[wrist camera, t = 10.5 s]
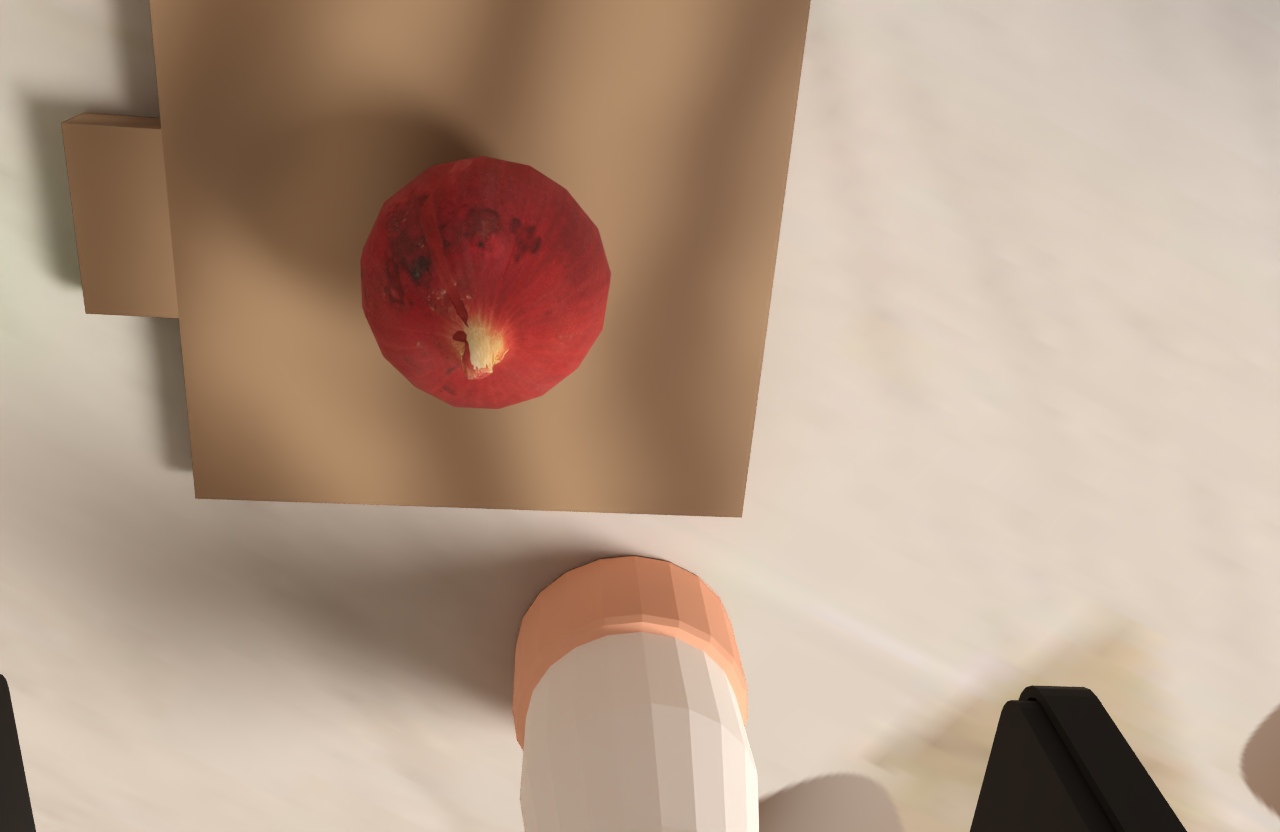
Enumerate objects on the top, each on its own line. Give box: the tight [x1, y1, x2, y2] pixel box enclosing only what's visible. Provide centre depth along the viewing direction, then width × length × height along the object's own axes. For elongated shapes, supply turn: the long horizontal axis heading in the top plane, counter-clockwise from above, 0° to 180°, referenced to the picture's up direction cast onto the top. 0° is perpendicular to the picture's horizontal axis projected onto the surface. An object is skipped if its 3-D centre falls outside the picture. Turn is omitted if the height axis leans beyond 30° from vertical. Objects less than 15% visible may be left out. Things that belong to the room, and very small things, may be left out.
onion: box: [360, 156, 611, 409], centre depth 26 cm, size 6×6×8 cm
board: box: [61, 0, 811, 517], centre depth 30 cm, size 18×16×2 cm
